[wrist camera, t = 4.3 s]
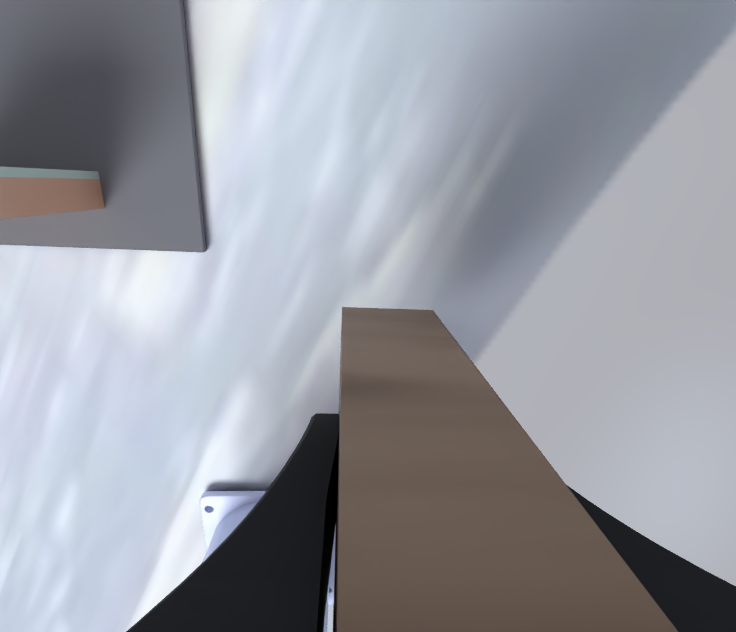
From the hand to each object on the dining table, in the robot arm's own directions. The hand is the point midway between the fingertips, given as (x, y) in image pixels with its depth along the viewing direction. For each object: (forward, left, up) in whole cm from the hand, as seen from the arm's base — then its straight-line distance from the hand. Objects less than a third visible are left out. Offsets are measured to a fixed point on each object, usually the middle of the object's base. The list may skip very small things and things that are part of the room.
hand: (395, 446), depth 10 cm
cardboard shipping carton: (0, 0, -3) cm, 4 cm away
